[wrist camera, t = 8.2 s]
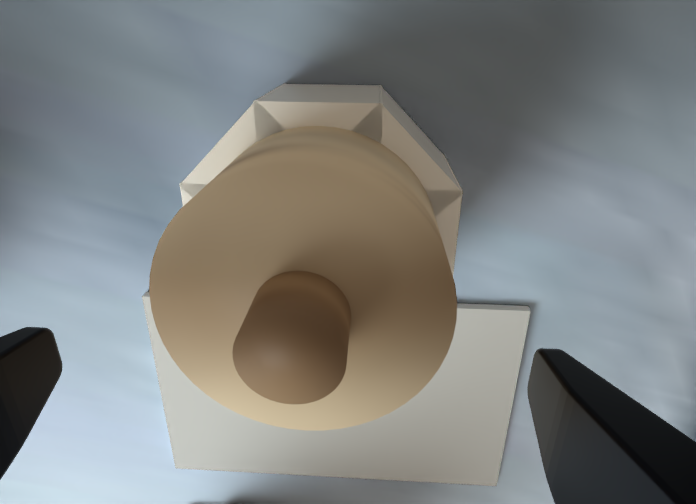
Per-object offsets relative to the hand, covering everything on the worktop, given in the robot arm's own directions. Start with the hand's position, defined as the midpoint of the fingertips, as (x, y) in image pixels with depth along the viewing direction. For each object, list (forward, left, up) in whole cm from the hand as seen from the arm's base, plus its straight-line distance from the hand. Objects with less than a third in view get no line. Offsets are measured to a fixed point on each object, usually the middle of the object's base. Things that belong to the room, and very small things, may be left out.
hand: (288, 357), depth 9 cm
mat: (-10, 0, -10) cm, 14 cm away
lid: (0, 0, -6) cm, 6 cm away
